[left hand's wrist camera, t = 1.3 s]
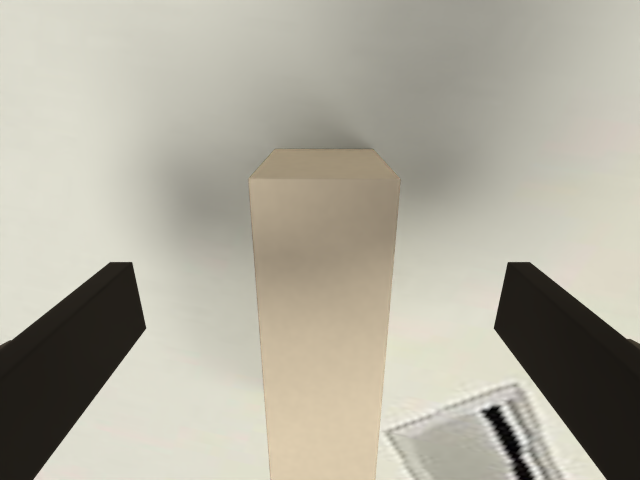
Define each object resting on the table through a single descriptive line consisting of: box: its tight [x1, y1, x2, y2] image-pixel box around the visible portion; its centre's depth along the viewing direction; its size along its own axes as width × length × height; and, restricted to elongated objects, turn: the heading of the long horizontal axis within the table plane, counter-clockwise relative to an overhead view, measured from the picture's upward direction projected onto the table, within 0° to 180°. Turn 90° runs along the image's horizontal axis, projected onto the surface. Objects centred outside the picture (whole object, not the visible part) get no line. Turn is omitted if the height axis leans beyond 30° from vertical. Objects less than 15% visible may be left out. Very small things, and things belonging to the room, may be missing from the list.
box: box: [248, 149, 401, 480], centre depth 22 cm, size 20×6×8 cm, turn 0°
